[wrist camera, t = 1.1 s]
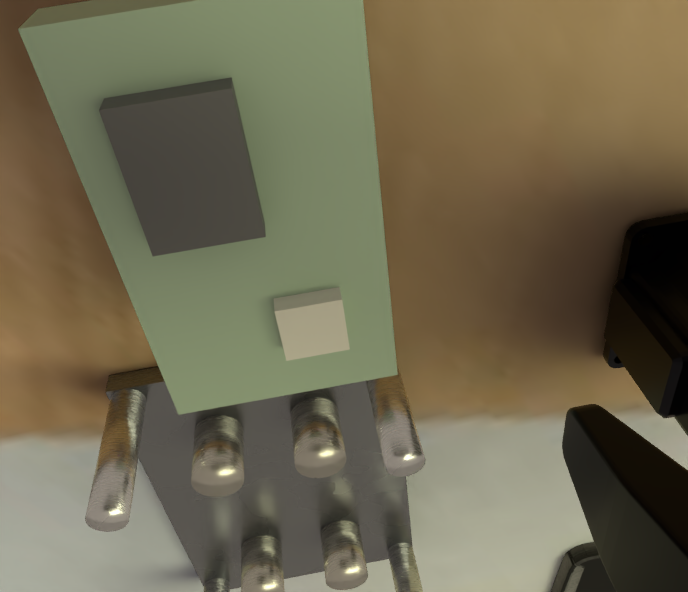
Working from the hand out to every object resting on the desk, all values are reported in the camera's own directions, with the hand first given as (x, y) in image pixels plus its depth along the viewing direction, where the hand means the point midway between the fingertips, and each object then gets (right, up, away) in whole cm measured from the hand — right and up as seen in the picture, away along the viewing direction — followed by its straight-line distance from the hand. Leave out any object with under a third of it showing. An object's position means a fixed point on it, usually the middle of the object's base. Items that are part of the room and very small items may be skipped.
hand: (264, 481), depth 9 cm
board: (-1, +5, +6) cm, 8 cm away
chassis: (-1, -5, +18) cm, 18 cm away
